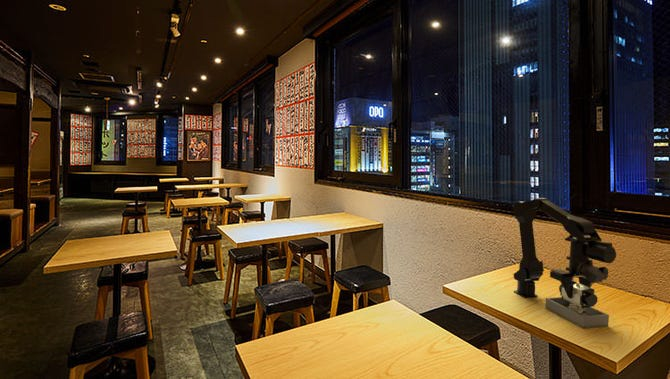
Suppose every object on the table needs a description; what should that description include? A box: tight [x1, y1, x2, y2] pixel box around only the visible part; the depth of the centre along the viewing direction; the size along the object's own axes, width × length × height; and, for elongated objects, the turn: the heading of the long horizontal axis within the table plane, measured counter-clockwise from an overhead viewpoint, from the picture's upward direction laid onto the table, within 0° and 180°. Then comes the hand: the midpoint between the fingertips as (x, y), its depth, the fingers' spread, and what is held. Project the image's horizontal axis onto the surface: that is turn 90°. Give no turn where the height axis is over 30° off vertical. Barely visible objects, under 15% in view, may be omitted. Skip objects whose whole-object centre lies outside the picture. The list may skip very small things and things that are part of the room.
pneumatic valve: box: [558, 281, 599, 316], centre depth 124 cm, size 6×12×12 cm, turn 10°
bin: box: [544, 296, 610, 329], centre depth 124 cm, size 16×10×4 cm, turn 11°
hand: (576, 297), depth 123 cm, fingers closed on pneumatic valve, 5 cm apart
